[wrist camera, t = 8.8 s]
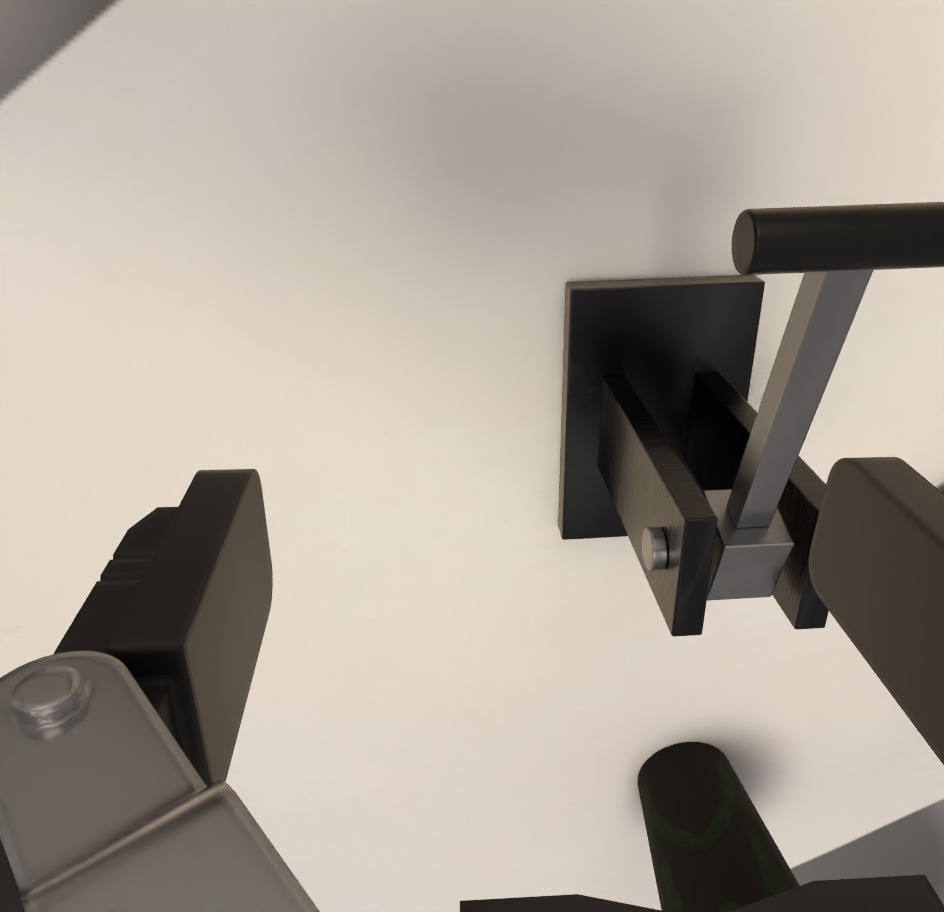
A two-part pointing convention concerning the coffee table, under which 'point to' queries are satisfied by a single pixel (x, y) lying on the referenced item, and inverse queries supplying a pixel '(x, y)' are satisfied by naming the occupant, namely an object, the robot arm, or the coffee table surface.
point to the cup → (706, 833)
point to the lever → (803, 359)
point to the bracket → (670, 433)
